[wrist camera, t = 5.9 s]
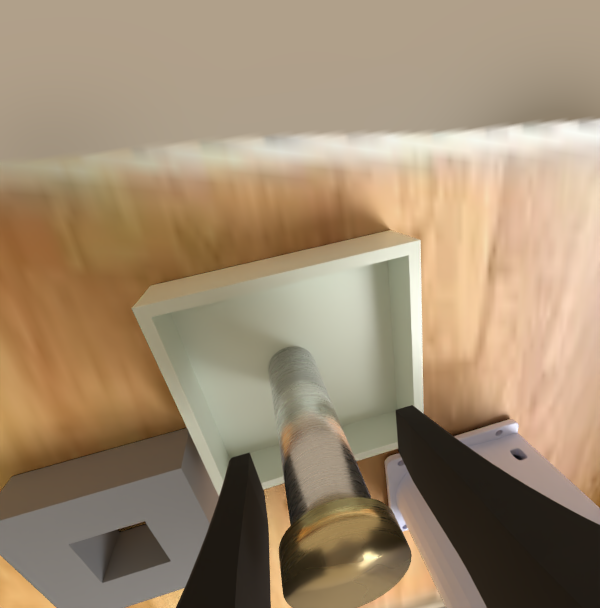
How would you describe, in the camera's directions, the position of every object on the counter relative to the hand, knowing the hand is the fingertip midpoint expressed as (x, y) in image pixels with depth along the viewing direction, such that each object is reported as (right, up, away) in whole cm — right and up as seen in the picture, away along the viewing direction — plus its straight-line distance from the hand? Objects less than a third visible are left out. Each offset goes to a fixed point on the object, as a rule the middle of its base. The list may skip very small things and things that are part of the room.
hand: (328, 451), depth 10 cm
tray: (-1, +2, +5) cm, 6 cm away
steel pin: (-1, +2, +5) cm, 5 cm away
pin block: (-10, -7, +7) cm, 14 cm away
